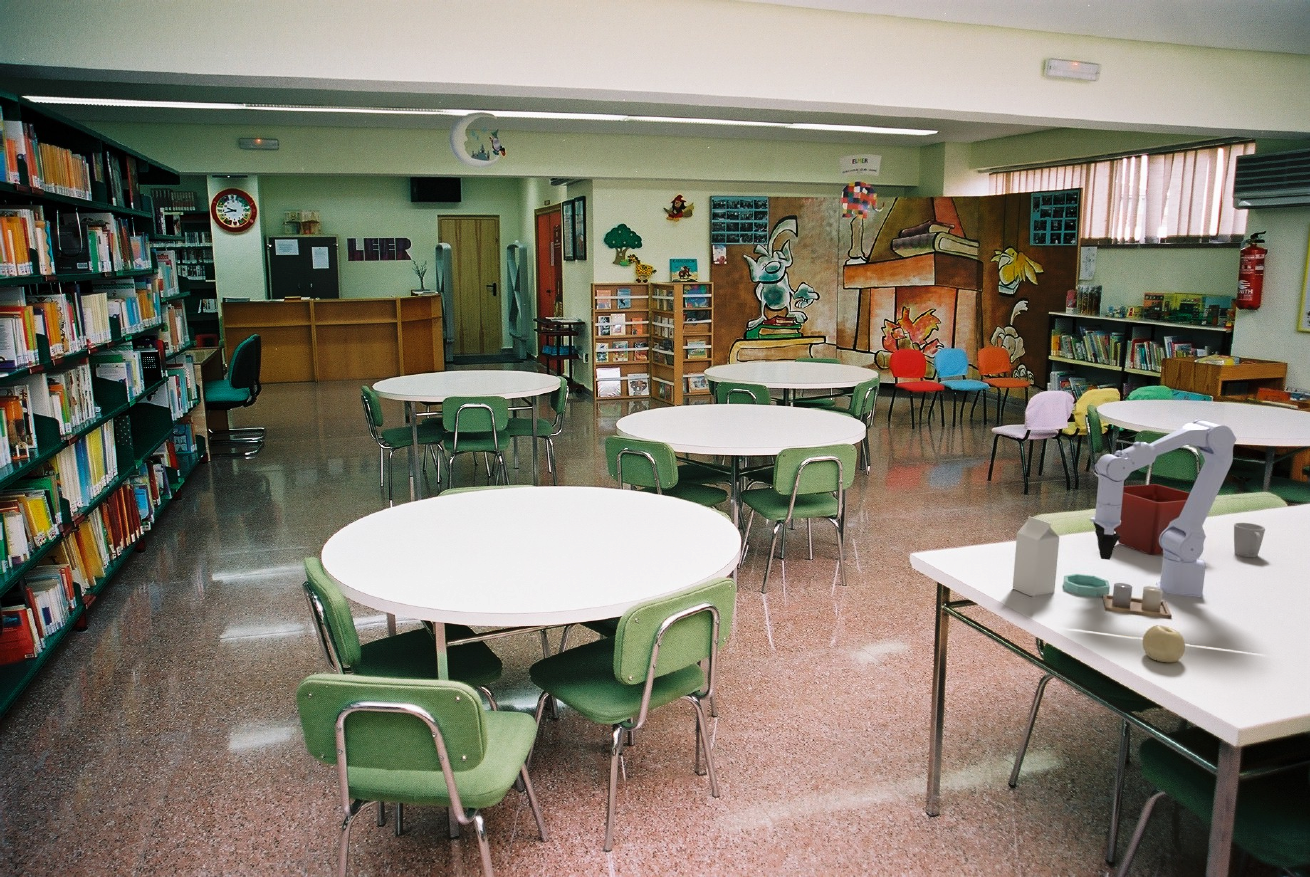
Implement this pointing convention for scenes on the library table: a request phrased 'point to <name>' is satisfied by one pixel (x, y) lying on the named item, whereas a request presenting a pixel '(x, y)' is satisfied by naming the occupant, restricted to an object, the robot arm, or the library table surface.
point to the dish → (1086, 585)
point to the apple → (1163, 644)
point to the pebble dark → (1122, 595)
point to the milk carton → (1036, 558)
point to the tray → (1136, 607)
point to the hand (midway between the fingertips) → (1104, 554)
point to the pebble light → (1151, 599)
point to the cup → (1248, 539)
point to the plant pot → (1148, 515)
